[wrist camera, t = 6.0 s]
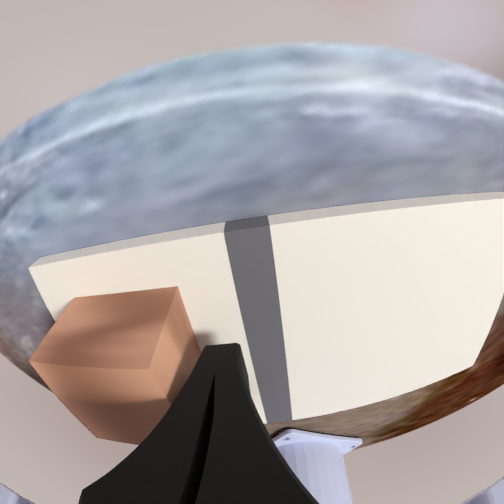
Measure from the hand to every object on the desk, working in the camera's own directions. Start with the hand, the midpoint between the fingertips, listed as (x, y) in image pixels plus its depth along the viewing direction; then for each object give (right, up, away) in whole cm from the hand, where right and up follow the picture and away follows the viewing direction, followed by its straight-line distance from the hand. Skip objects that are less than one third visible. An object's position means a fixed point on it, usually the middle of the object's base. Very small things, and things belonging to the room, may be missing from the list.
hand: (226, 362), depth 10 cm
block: (-4, 0, +1) cm, 4 cm away
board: (+4, 0, +3) cm, 5 cm away
